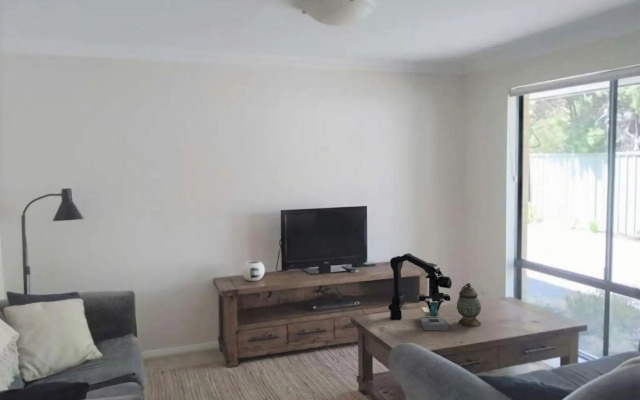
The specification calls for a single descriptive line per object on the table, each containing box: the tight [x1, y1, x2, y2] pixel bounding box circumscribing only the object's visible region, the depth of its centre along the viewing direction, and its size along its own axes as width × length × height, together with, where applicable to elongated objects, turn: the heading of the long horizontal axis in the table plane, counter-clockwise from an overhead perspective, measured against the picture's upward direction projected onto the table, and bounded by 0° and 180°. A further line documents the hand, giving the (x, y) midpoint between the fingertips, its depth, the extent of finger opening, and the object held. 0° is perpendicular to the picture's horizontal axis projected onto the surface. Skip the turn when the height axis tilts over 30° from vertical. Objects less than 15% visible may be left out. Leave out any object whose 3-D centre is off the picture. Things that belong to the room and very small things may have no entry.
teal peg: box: [429, 301, 438, 317], centre depth 296 cm, size 4×4×8 cm
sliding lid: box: [420, 306, 440, 317], centre depth 308 cm, size 9×9×3 cm
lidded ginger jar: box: [456, 282, 482, 328], centre depth 300 cm, size 14×14×25 cm
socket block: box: [419, 316, 449, 331], centre depth 297 cm, size 14×14×4 cm
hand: (433, 311), depth 297 cm, fingers closed on teal peg, 4 cm apart
